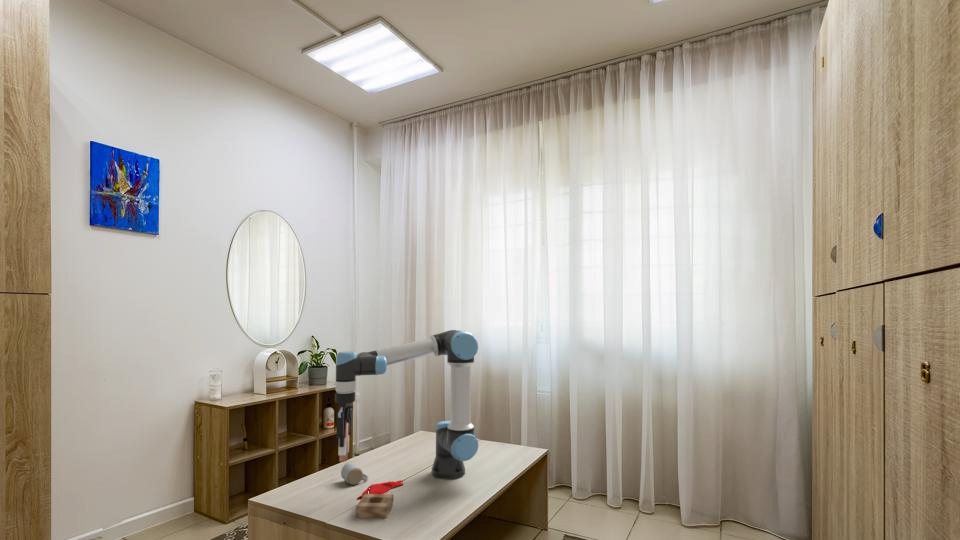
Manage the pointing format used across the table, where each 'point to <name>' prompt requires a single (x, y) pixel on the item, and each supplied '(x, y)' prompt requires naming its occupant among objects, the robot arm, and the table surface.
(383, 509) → the square frame
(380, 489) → the cloth
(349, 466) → the ceramic mug
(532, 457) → the table surface
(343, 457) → the dowel
